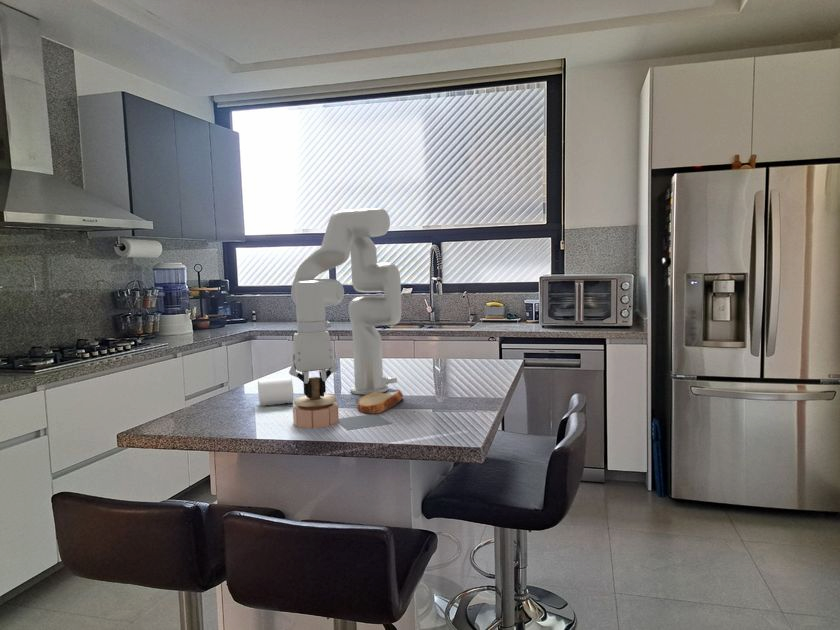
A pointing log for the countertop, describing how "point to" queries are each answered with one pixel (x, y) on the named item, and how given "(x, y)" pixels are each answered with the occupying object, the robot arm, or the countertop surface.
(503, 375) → the countertop surface
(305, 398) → the lid
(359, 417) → the mat
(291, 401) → the mug
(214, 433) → the countertop surface
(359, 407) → the bread slice
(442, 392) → the countertop surface
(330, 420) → the bowl
